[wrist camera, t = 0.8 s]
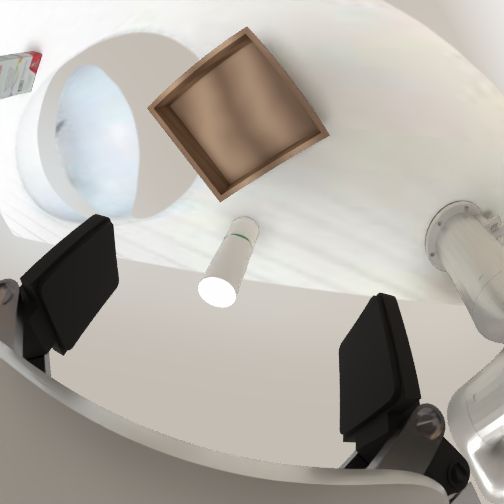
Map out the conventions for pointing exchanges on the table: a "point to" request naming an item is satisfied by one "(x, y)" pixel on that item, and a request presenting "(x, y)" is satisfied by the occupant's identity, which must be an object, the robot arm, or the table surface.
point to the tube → (229, 264)
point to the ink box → (18, 73)
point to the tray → (237, 115)
